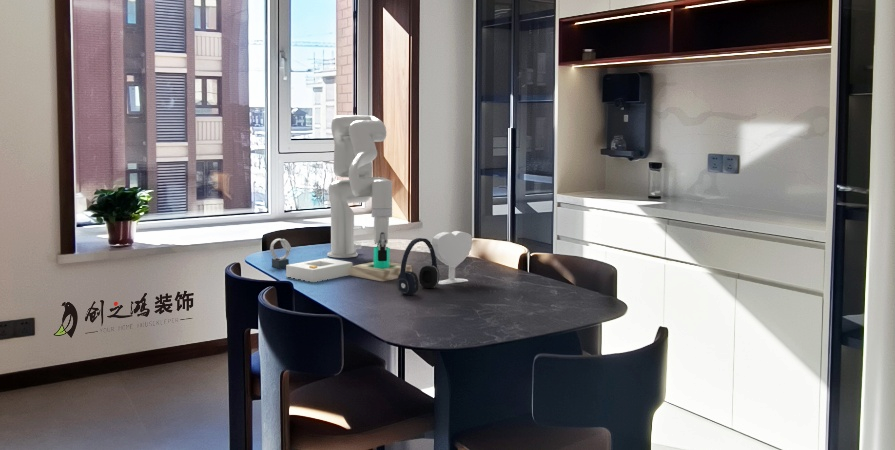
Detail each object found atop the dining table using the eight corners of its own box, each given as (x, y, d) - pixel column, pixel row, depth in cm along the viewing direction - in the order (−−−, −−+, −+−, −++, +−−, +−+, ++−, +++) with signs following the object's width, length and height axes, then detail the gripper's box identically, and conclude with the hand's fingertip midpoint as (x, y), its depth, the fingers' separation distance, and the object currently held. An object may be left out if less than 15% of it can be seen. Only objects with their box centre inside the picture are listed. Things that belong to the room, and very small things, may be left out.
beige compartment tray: (379, 269, 334) (380, 260, 334) (411, 275, 325) (411, 265, 324) (350, 275, 322) (350, 266, 321) (382, 281, 312) (383, 271, 312)
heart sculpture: (464, 277, 321) (465, 229, 319) (472, 280, 317) (473, 231, 315) (430, 282, 312) (430, 232, 309) (438, 284, 308) (439, 234, 306)
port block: (326, 269, 333) (326, 256, 332) (352, 274, 324) (352, 260, 323) (286, 277, 317) (286, 263, 316) (313, 282, 308) (313, 268, 308)
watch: (293, 266, 337) (293, 238, 336) (274, 269, 332) (274, 240, 331) (286, 264, 341) (286, 237, 340) (267, 266, 336) (267, 238, 335)
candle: (387, 277, 320) (387, 245, 318) (371, 276, 321) (371, 244, 319) (391, 274, 326) (391, 242, 324) (375, 273, 327) (376, 241, 325)
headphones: (411, 298, 287) (411, 243, 284) (393, 295, 290) (394, 241, 288) (442, 287, 304) (443, 235, 301) (425, 285, 307) (426, 234, 305)
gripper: (370, 210, 328) (370, 255, 330) (372, 215, 311) (372, 262, 313) (390, 210, 329) (390, 254, 331) (393, 215, 312) (393, 262, 314)
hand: (381, 258), depth 322 cm, fingers open, 9 cm apart
